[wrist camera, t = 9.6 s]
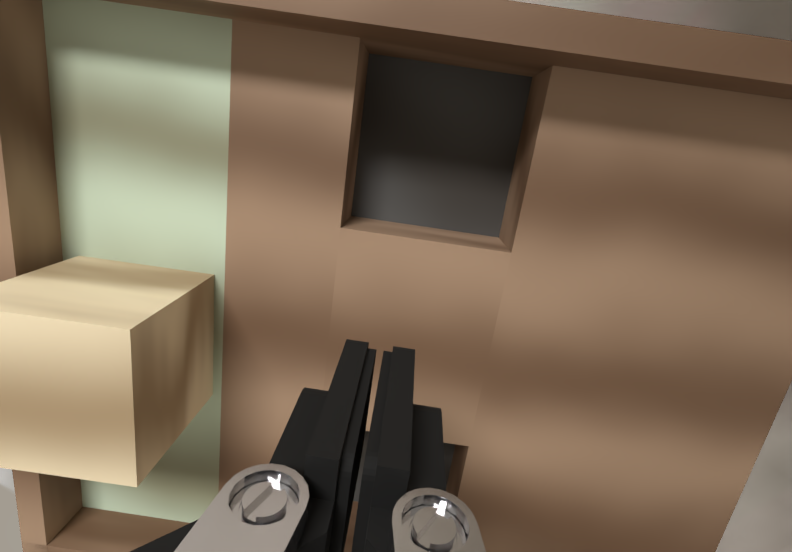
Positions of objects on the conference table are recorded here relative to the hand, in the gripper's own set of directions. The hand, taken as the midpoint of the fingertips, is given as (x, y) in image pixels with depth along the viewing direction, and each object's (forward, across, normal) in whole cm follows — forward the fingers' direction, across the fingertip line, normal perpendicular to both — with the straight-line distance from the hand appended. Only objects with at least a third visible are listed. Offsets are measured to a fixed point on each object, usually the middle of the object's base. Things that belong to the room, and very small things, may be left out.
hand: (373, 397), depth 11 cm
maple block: (+6, +9, +2) cm, 11 cm away
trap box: (+9, -1, +2) cm, 9 cm away
